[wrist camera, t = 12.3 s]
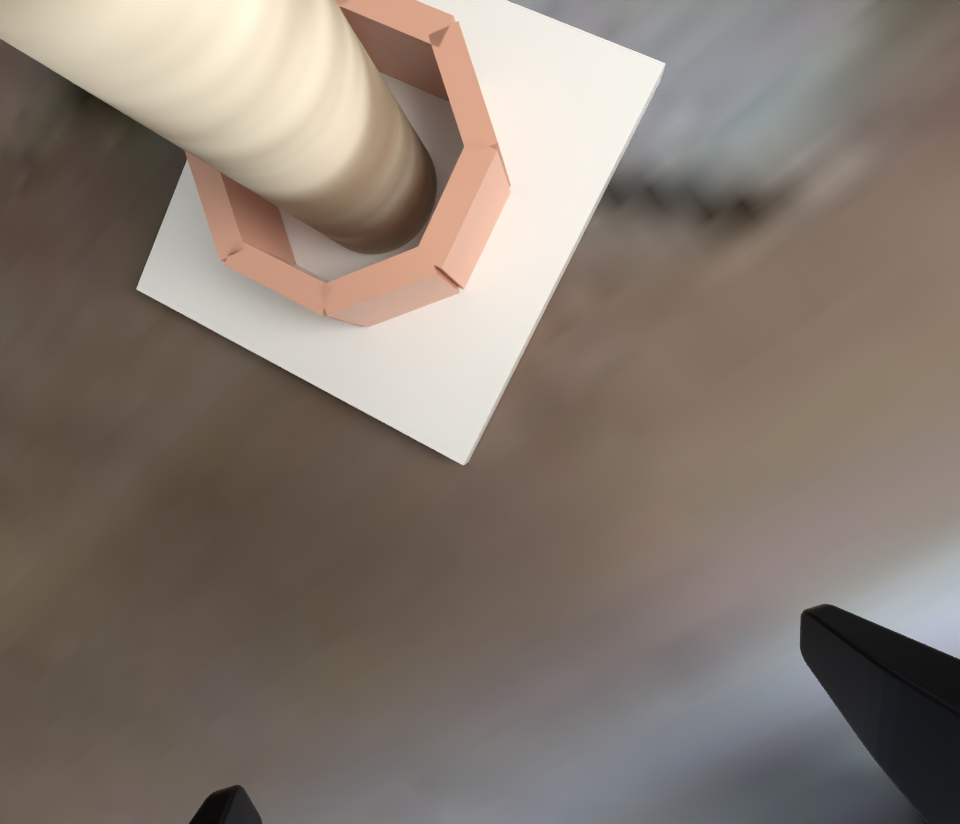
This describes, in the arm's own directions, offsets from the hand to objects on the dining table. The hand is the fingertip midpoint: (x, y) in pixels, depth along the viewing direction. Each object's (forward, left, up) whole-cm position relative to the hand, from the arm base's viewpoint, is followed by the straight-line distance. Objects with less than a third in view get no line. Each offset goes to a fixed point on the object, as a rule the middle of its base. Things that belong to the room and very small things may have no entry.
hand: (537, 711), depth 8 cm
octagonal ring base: (+12, -8, -13) cm, 19 cm away
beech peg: (+12, -8, -12) cm, 19 cm away
